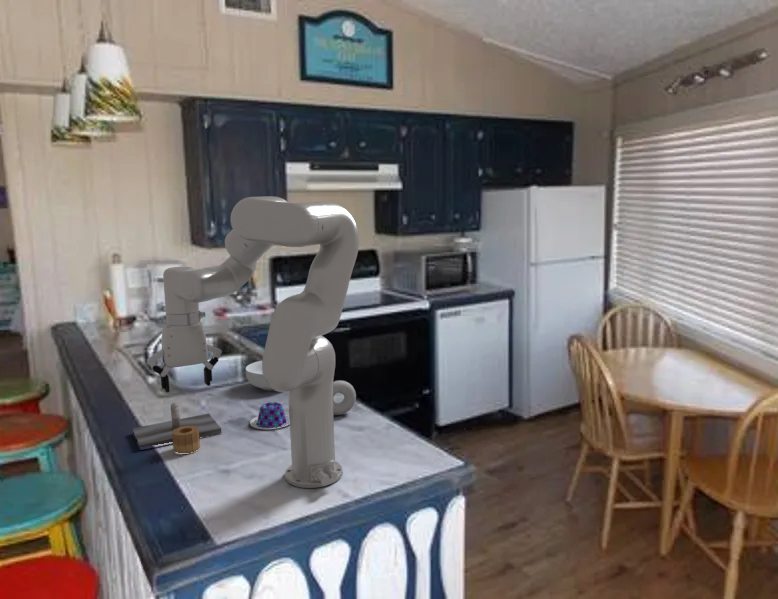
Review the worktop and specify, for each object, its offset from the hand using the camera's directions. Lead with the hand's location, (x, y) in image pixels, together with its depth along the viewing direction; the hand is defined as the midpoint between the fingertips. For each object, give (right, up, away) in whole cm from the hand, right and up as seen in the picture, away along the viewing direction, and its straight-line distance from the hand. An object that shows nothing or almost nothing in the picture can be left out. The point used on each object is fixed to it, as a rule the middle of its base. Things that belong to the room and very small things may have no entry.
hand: (187, 387), depth 149 cm
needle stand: (-7, -14, +12) cm, 20 cm away
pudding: (+17, -13, +19) cm, 28 cm away
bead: (-1, -16, +2) cm, 16 cm away
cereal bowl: (+11, -7, +50) cm, 52 cm away
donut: (+35, -11, +23) cm, 44 cm away
